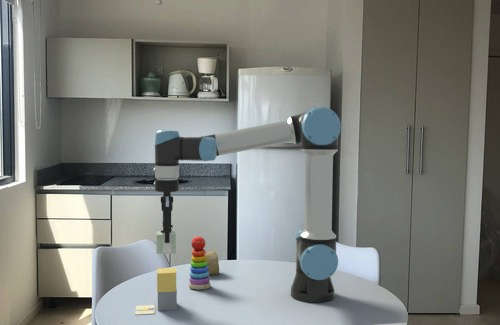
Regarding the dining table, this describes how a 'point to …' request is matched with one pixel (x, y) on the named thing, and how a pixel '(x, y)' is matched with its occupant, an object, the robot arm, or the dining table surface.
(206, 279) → the stacking toy
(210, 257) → the tan rough rounded lump
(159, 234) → the sage brick
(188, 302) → the dining table surface
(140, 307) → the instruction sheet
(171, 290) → the mustard brick
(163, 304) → the slate brick
